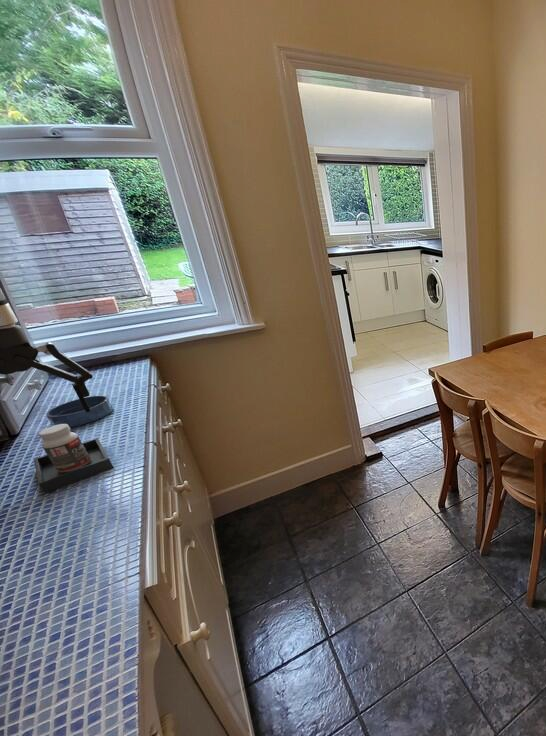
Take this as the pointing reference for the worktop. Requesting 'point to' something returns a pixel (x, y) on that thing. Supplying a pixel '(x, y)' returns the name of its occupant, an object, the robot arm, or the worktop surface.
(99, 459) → the tray
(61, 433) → the pill bottle
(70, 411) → the bowl
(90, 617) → the worktop surface
